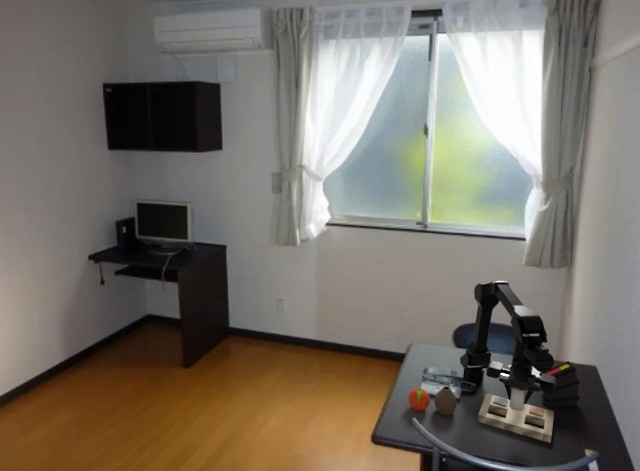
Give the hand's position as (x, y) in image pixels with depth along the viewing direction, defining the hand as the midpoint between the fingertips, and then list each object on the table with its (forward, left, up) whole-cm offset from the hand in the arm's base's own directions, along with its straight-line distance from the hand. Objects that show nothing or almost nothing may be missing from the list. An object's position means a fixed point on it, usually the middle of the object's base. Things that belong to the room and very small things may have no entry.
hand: (517, 401), depth 144 cm
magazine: (+11, +24, -11) cm, 29 cm away
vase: (-21, 0, -11) cm, 24 cm away
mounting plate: (+2, +39, -11) cm, 41 cm away
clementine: (-29, -3, -11) cm, 31 cm away
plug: (0, 0, -2) cm, 2 cm away
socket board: (0, +7, -11) cm, 13 cm away
